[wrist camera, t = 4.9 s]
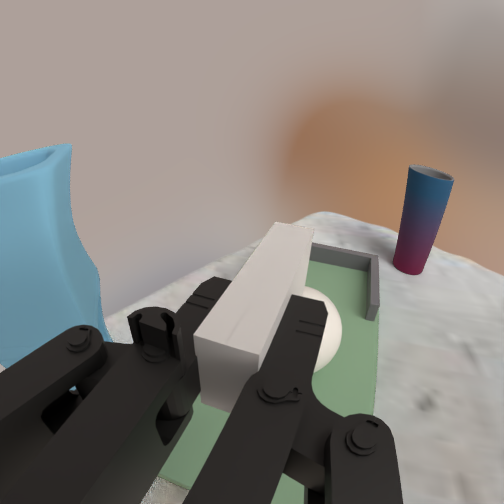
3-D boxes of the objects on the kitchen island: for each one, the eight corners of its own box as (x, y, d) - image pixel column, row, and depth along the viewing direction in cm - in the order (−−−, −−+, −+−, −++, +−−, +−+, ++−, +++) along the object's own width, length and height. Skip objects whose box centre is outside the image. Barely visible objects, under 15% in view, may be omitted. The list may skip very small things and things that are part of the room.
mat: (347, 530, 14) (353, 527, 13) (133, 463, 18) (129, 458, 17) (375, 274, 42) (377, 266, 41) (267, 252, 46) (268, 244, 45)
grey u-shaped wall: (373, 321, 31) (379, 305, 30) (242, 292, 35) (242, 276, 34) (374, 269, 41) (378, 255, 39) (269, 248, 44) (270, 234, 43)
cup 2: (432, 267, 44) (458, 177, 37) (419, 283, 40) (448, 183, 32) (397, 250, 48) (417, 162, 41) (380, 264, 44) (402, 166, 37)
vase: (51, 363, 25) (-19, 163, 15) (122, 353, 28) (76, 140, 18) (48, 429, 19) (-72, 201, 9) (131, 421, 21) (50, 167, 11)
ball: (346, 379, 25) (370, 315, 21) (265, 404, 23) (273, 340, 19) (309, 325, 31) (321, 262, 27) (238, 341, 29) (239, 275, 25)
